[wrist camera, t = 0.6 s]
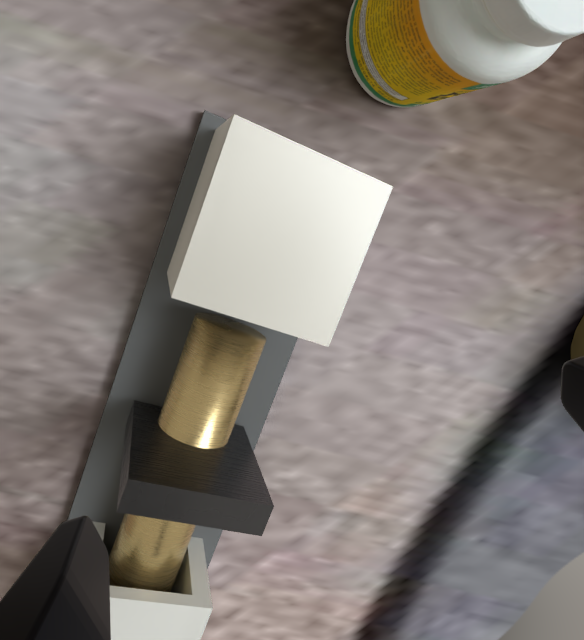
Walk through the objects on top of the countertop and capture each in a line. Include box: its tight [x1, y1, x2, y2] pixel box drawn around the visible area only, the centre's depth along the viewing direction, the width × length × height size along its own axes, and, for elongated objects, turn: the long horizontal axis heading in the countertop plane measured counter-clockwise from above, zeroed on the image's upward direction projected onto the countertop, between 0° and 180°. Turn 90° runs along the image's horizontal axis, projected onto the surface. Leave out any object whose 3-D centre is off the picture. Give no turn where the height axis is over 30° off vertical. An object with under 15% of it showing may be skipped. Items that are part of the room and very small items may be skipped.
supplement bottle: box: [346, 0, 584, 108], centre depth 17 cm, size 5×5×10 cm
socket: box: [167, 114, 393, 347], centre depth 19 cm, size 6×6×5 cm
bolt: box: [109, 313, 274, 592], centre depth 20 cm, size 17×5×6 cm, turn 158°
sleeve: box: [92, 521, 213, 640], centre depth 22 cm, size 7×5×4 cm
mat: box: [67, 110, 298, 569], centre depth 23 cm, size 26×7×1 cm, turn 158°
